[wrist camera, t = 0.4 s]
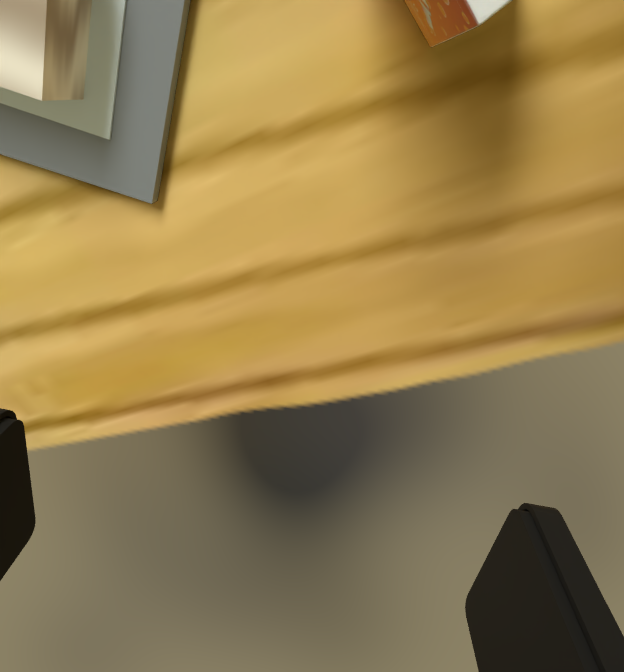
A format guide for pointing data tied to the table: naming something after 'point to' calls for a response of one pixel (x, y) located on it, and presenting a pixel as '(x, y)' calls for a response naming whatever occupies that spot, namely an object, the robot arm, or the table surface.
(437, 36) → the small box
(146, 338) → the table surface
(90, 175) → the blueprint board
